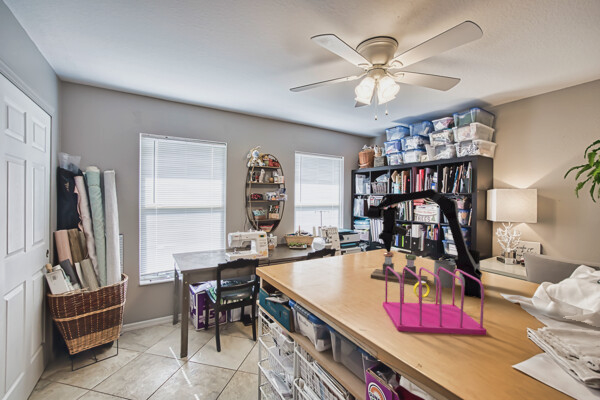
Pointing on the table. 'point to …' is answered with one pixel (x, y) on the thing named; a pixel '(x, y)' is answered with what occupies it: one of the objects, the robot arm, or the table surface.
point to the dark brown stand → (408, 276)
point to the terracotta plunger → (388, 257)
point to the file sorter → (433, 310)
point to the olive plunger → (410, 260)
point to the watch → (422, 284)
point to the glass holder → (476, 259)
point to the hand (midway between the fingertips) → (388, 252)
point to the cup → (444, 273)
